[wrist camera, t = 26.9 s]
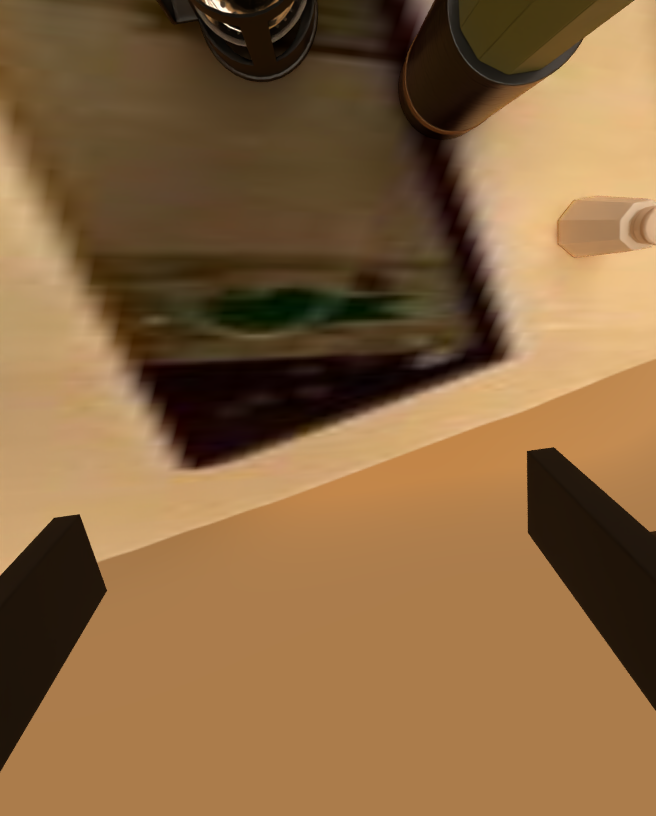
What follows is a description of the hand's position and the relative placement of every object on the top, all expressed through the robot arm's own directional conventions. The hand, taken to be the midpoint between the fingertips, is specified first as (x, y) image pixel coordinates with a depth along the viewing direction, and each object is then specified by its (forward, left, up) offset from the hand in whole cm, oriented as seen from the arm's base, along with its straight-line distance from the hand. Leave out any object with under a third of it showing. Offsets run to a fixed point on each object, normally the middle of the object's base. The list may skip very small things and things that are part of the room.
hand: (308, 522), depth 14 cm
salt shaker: (+26, +5, -35) cm, 44 cm away
